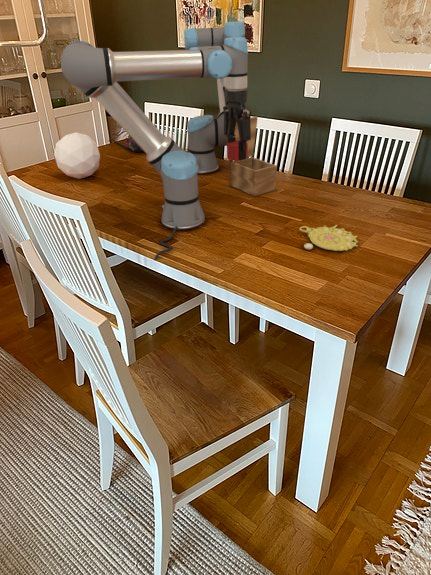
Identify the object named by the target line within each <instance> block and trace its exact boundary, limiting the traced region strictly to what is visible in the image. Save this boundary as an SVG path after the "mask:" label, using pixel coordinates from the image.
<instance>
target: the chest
mask: <svg viewBox="0 0 431 575" xmlns="http://www.w3.org/2000/svg"><path fill="white" fill-rule="evenodd" d="M230 168H231V169H230V185H231V187H233V188H236V189H238V190H240V191H242V192H245V193H246V194H249V195H251V196H253V197H256V196H260V195H263V194H266V193H269V192H273V191H276V186H277V185H276V184H277V170H278V169H277V168H278V167H277V165H276V164H273V163H270V162H267V161H265V160H263V159H259V158H257V157H254V156H251V157H248V158H247V159H244V160H240V161H230Z"/></svg>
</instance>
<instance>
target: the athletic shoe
mask: <svg viewBox="0 0 431 575" xmlns="http://www.w3.org/2000/svg"><path fill="white" fill-rule="evenodd" d="M124 139H125V141H126V143H123V144H122V145H124V146H127V147H130V149H129V150H131V149H132V150H131V152H134V153H141V152H140V151H143V149H142V148H141V147H140V146H139V145H138V144H137V143H136V142H135V141H134V140H133V139H132V138H131V137H130V136H129V139H128V137H125V138H124Z"/></svg>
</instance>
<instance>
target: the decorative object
mask: <svg viewBox="0 0 431 575" xmlns="http://www.w3.org/2000/svg"><path fill="white" fill-rule="evenodd" d="M303 228H304V229H305V230H304V229H303ZM299 231H300V232H303V233H305V234H307V237H308V238H309V240H310V241H311V243H304V244H303V248H304V249H305V250H313V249H314V245H315V246H316V247H318V248H321V249H324V250H328V251H335V252H341V251H348V250H352V249H354V247H356V248H358V247H359V245H358V244H357V243H359V240H357V238H359V237H358V235H353V234H352V231H347V230H346V229H345V228H344V227H342V228H338V224H335V225H333V226H331V227H328V226H327V225H326V224H325V225H323V226H322V227H321V226H317V227H316V228H314V227H309V226H308V225H302V226H300V227H299ZM313 244H314V245H313Z"/></svg>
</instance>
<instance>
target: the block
mask: <svg viewBox="0 0 431 575" xmlns="http://www.w3.org/2000/svg"><path fill="white" fill-rule="evenodd" d="M247 158H249V157H248V143H246V159H247ZM226 159H228V160H230V161H231V160H234V161H240V160H239V141H234V142H230V143H227V146H226ZM234 161H233V162H234Z"/></svg>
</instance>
